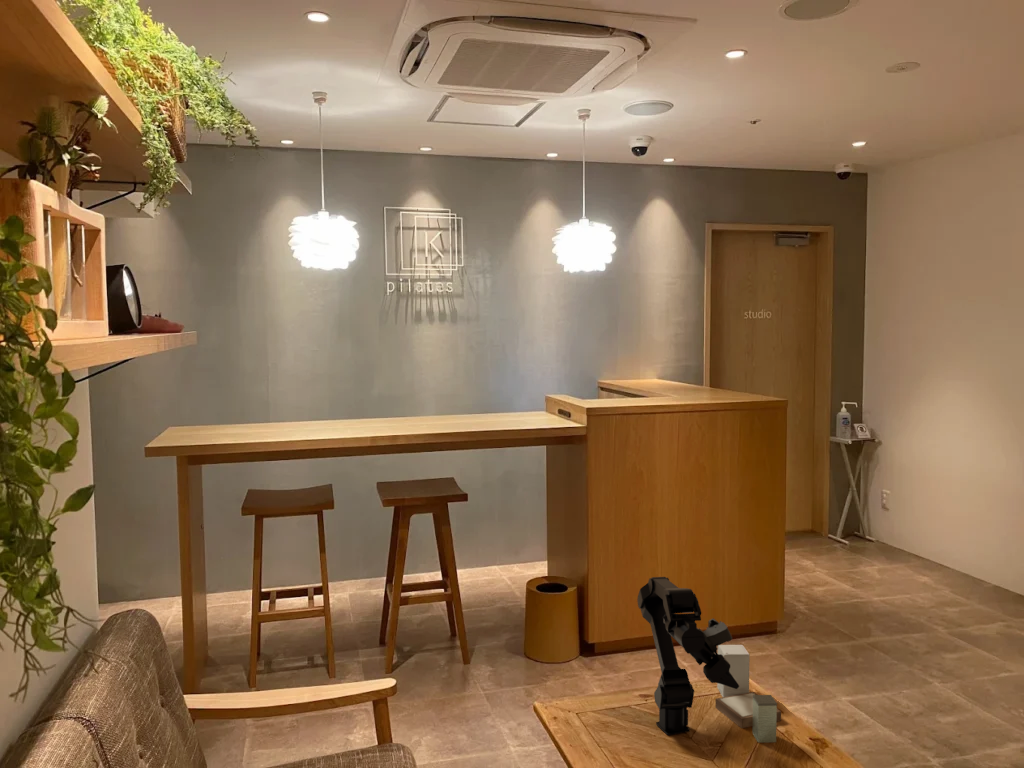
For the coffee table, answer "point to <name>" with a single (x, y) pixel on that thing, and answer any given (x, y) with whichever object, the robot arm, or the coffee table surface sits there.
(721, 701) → the brown framed square mirror
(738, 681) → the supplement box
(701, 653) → the robot arm
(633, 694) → the coffee table surface
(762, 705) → the olive grey square block
